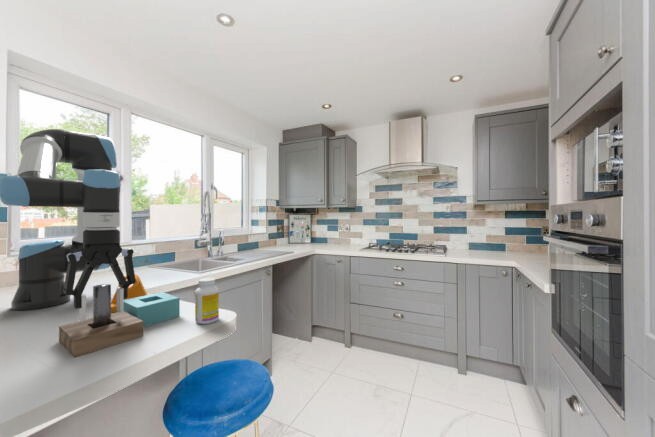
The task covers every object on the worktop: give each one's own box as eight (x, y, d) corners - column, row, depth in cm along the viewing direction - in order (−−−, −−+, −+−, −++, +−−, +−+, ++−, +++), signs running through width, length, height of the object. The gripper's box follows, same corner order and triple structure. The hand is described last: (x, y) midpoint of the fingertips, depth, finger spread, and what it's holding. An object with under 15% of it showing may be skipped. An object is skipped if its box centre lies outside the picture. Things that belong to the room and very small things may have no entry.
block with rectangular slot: (121, 319, 85) (121, 300, 85) (162, 309, 95) (162, 291, 95) (137, 328, 78) (136, 307, 78) (179, 316, 88) (179, 297, 88)
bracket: (106, 315, 89) (106, 279, 89) (112, 309, 95) (112, 274, 95) (145, 310, 94) (145, 276, 94) (148, 304, 100) (148, 272, 100)
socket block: (59, 341, 70) (59, 326, 70) (123, 324, 82) (123, 310, 81) (74, 357, 62) (74, 339, 62) (143, 335, 73) (143, 321, 73)
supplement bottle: (223, 318, 86) (223, 278, 86) (207, 326, 80) (207, 282, 80) (206, 315, 88) (206, 276, 88) (190, 323, 82) (190, 281, 82)
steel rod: (91, 339, 71) (91, 286, 71) (108, 334, 74) (108, 283, 74) (95, 342, 69) (95, 288, 69) (113, 337, 72) (112, 285, 72)
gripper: (51, 230, 61) (51, 332, 61) (150, 228, 78) (150, 308, 78) (44, 230, 66) (44, 324, 66) (139, 227, 82) (139, 303, 82)
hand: (102, 315), depth 72 cm, fingers open, 7 cm apart
